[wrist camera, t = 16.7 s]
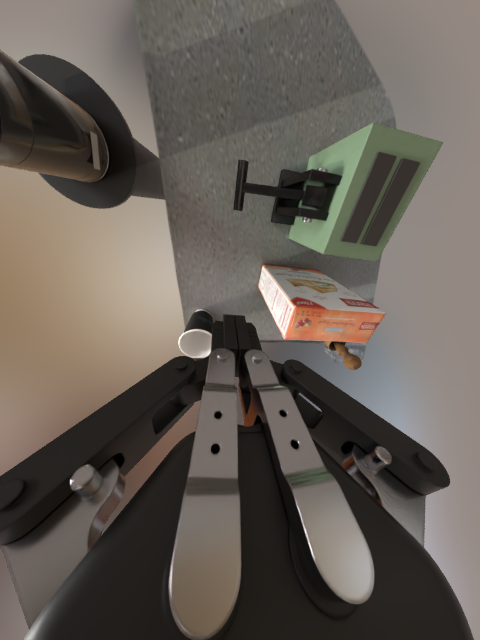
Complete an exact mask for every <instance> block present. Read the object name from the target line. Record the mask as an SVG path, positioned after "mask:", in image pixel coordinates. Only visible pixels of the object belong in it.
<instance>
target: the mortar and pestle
mask: <svg viewBox="0 0 480 640" xmlns="http://www.w3.org/2000/svg"><path fill="white" fill-rule="evenodd" d="M324 342H325V344H326V345H327V346H328V348H329V349H330V350H333V351H335V350H337V352H338V354H339V355H342V356H343V357H344V363H345V365H346V367H348V368H349V369H352V370H356V369H358V368H360V367H361V360H360V358H359V357H358V356H356V355H353V354H350V353H349V352H348V348H347V347H345V346H344V345H345V343H346V342H339V341H324Z"/></svg>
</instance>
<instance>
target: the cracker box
mask: <svg viewBox="0 0 480 640" xmlns="http://www.w3.org/2000/svg"><path fill="white" fill-rule="evenodd" d="M258 287H259V289H260V291H261V293H262V295H263V297H264V299H265V302H266V304H267V306H268V308H269V310H270V312H271V314H272V316H273V318H274V320H275V322H276V324H277V326H278V328H279V330H280V332H281V334H282V336H283V338H284V339H293V340H315V341H339V342H359V343H367V342H368V340H369V339H370V337H371V335H372V334H373V332H374V331H375V329H376V328H377V326H378V325H379V323H380V322H381V320H382V319H383V317H384V315H385V314H386V313H385V312H384V311H382V310H381V309H379V308H377V307H376V306H374V305H373V304H371V303H369V302H368V301H366V300H365V299H363V298H361V297H360V296H358V295H356V294H355V293H353V292H352V291H350V290H348V289H347V288H345V287H344V286H342V285H340V284H339V283H337V282H336V281H334V280H332V279H331V278H329V277H328V276H326V275H324V274H323V273H321V272H320V271H318V270H309V269H300V268H291V267H282V266H274V265H265V264H263V266H262V271H261V276H260V281H259V286H258Z"/></svg>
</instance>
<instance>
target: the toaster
mask: <svg viewBox="0 0 480 640" xmlns="http://www.w3.org/2000/svg"><path fill="white" fill-rule="evenodd" d="M442 144H443V142H440V141H436V140H433V139H429V138H426V137H422V136H419V135H415V134H412V133H409V132H405V131H401V130H398V129H395V128H391V127H388V126H384V125H381V124H378V123H372V124H370V125H368V126H366V127H364V128H362V129H361V130H359V131H357V132H355V133H353V134H351V135H350V136H348V137H346V138H344V139H342V140H340V141H338V142H337V143H335V144H333V145H331V146H329V147H327V148H326V149H324V150H322V151H320V152H318V153H316V154H315V155H313V156H311V157H310V158H309V162H308V165H307V169H306V171H308V170H310V169H315V170H317V169H318V168H325V169H328V172H329V173H333V174H338V175H342V179H341V182H340V185H339V186H333V187H327V188H328V191H327V194H326V197H325V200H324V203H323V206H322V208H321V209H319V208H312V207H306V206H302V205H301V203H302V201H300V204H299V207H298V208H306V209H311V210H317V211H322V212H328V213H329V215H328V218H327V221H322V220H315V219H312V222H311V223H310V222H304V221H302V219H303V218H300V217H296V218H295V222H294V225H291V229H290V233H289V236H288V238H289V239H291V240H293V241H296V242H298V243H300V244H302V245H304V246H306V247H309V248H311V249H313V250H315V251H317V252H319V253H322V254H325V255H332V256H339V257H347V258H354V259H361V260H368V261H376V262H377V261H378V259H379V257H380V255H381V253H382V252H383V250H384V248H385V246H386V244H387V243H388V241H389V239H390V237H391V236H392V234H393V231H394V230H395V228H396V227H397V225H398V223H399V221H400V219H401V218H402V216H403V214H404V212H405V210H406V209H407V207H408V205H409V203H410V201H411V200H412V198H413V196H414V194H415V192H416V191H417V189H418V187H419V185H420V183H421V182H422V180H423V178H424V176H425V175H426V173H427V171H428V169H429V167H430V166H431V164H432V162H433V160H434V158H435V157H436V155H437V153H438V151H439V149H440V147H441V146H442Z"/></svg>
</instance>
